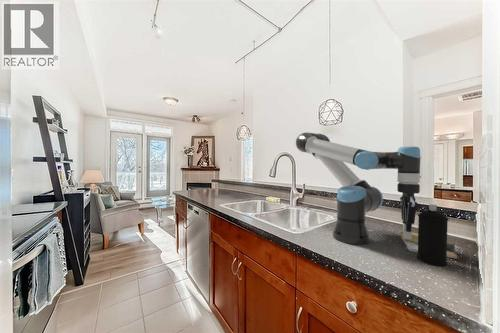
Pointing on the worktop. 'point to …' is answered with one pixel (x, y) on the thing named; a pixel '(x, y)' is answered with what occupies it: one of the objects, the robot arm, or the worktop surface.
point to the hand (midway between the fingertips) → (407, 238)
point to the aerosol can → (432, 237)
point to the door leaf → (451, 250)
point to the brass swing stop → (414, 237)
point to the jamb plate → (411, 245)
